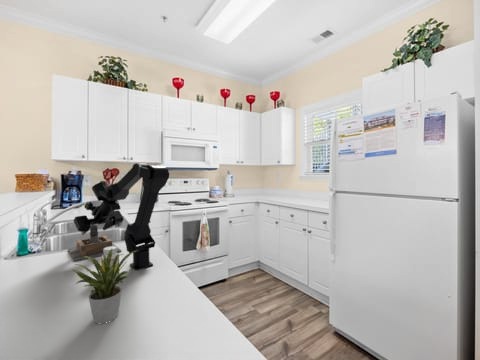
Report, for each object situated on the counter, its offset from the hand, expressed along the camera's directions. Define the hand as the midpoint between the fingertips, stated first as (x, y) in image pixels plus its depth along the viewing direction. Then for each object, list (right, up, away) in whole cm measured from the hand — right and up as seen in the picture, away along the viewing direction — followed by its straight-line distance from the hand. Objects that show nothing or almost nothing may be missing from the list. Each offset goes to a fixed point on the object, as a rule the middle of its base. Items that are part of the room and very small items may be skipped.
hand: (93, 231), depth 107 cm
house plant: (+33, -11, -47) cm, 58 cm away
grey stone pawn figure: (+1, -8, 0) cm, 8 cm away
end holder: (+1, -9, 0) cm, 9 cm away
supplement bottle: (+21, -10, -25) cm, 34 cm away
